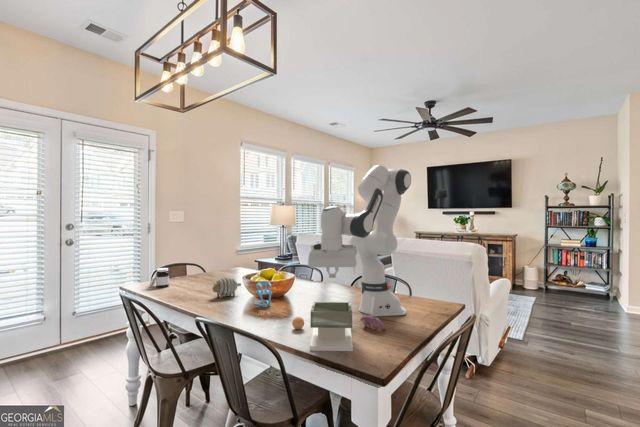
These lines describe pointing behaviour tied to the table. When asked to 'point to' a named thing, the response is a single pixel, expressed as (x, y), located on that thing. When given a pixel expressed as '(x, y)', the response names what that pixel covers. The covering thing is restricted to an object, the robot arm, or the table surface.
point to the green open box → (331, 315)
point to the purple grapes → (375, 322)
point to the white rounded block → (160, 278)
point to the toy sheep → (225, 286)
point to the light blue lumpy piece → (263, 293)
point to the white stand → (331, 339)
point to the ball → (298, 322)
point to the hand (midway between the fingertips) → (332, 277)
